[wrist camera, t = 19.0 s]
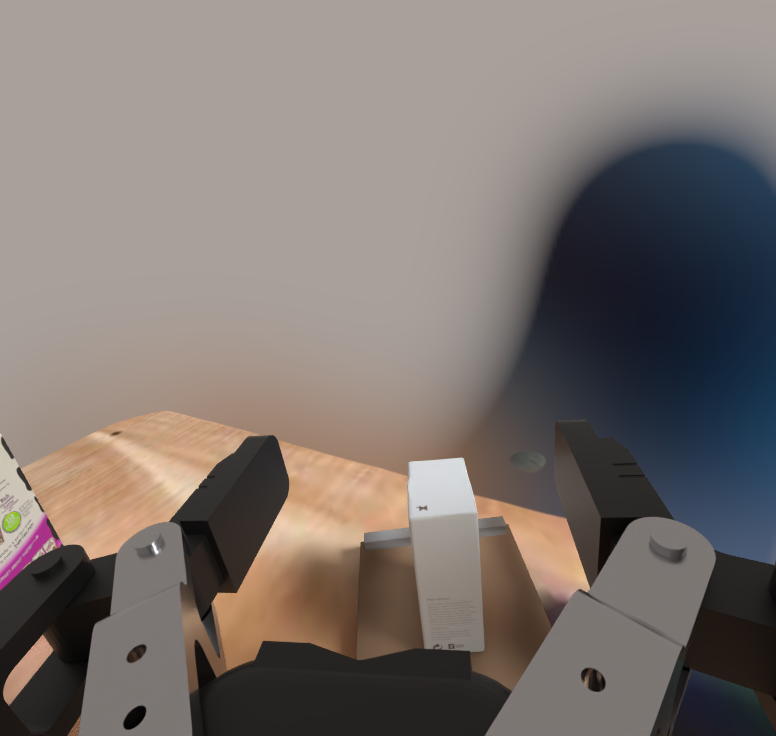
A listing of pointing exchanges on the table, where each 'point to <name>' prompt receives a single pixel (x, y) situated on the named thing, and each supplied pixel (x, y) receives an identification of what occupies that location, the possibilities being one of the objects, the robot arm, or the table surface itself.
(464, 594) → the skincare box
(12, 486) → the candy bar box
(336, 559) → the table surface
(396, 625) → the walnut riser
